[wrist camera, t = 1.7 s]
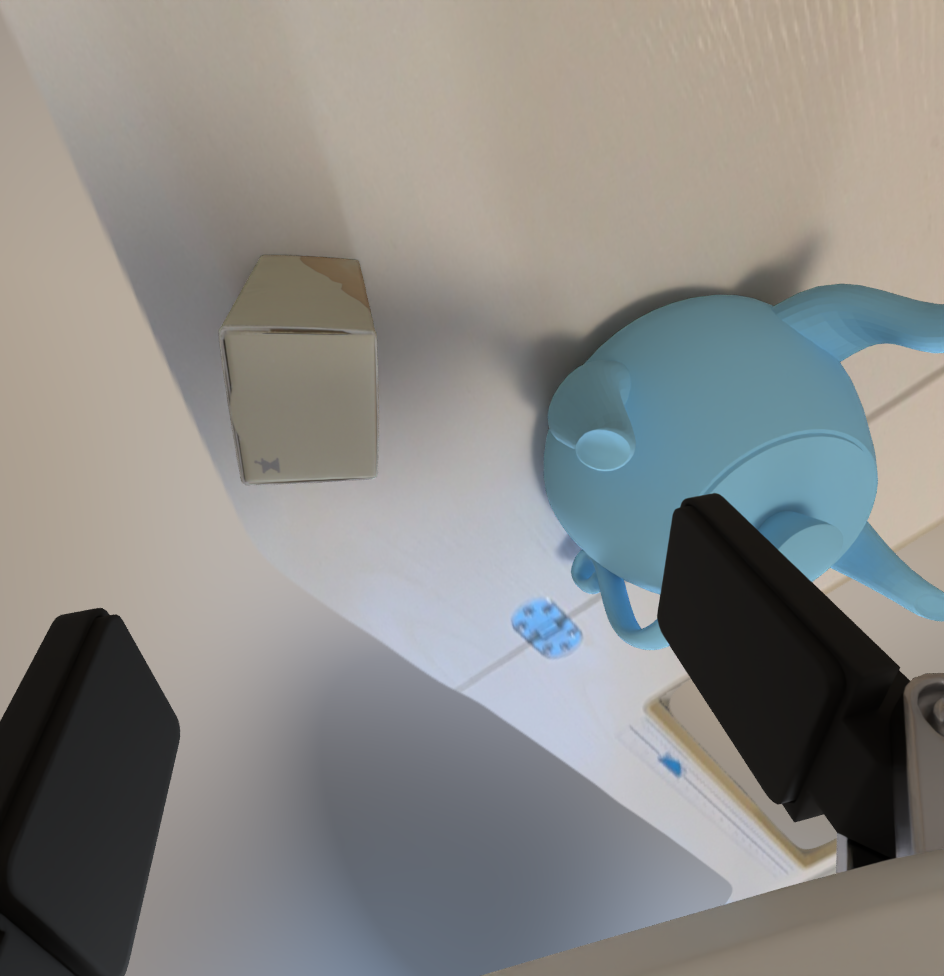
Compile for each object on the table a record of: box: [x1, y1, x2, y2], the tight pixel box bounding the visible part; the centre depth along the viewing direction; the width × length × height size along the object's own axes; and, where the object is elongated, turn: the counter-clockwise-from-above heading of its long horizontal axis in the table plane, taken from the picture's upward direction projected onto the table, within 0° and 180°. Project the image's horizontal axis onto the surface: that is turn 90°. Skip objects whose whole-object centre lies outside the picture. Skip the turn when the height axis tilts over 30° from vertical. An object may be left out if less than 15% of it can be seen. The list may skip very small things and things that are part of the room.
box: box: [219, 255, 379, 485], centre depth 22 cm, size 5×4×11 cm
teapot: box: [544, 284, 944, 650], centre depth 29 cm, size 17×19×12 cm
